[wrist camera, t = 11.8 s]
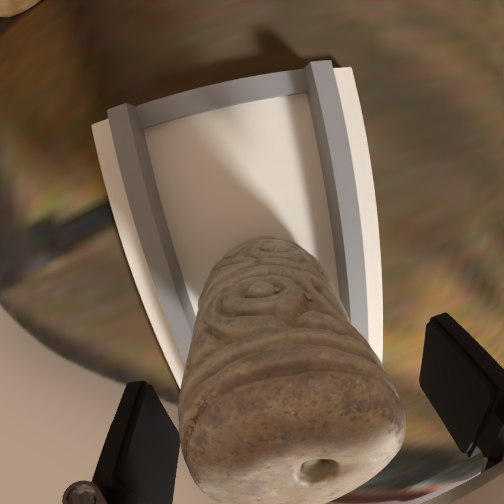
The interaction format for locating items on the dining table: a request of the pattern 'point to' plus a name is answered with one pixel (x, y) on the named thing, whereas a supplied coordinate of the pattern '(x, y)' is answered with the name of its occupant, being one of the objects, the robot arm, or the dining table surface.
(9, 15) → the hand bell
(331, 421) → the carving
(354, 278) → the rail plate
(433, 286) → the dining table surface
